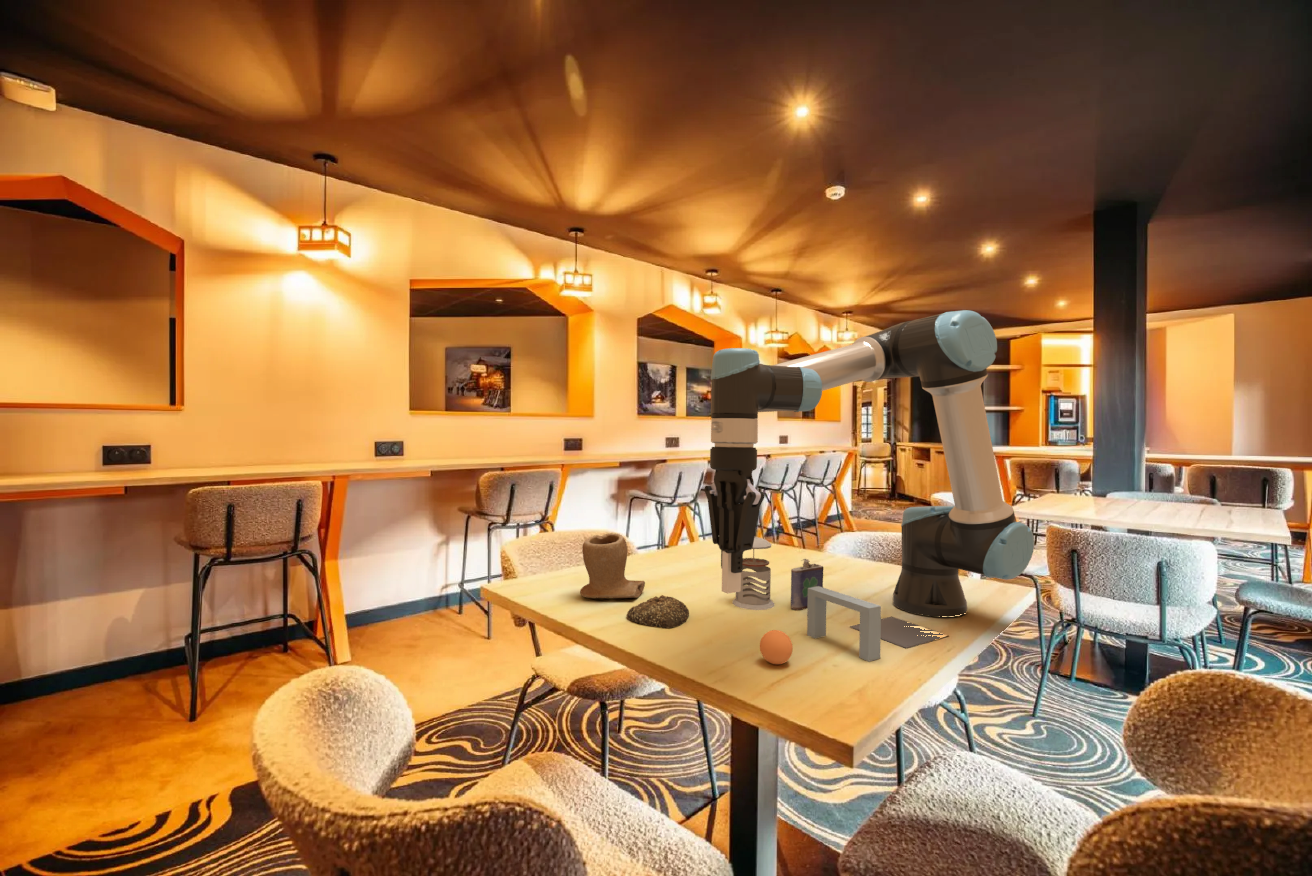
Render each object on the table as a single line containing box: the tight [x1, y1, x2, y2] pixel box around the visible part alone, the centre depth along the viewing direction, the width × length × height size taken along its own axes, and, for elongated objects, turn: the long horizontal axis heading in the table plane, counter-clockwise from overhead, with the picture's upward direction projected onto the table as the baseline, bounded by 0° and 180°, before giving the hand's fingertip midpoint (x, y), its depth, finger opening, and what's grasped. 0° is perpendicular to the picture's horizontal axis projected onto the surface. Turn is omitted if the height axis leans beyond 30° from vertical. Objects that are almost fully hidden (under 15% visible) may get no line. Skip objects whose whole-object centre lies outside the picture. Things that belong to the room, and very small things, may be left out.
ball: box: [759, 629, 794, 665], centre depth 97 cm, size 6×6×6 cm
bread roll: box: [626, 594, 690, 629], centre depth 120 cm, size 13×12×5 cm
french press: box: [731, 536, 776, 611], centre depth 131 cm, size 10×12×25 cm
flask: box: [790, 558, 824, 611], centre depth 129 cm, size 9×3×11 cm, turn 121°
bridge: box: [806, 586, 882, 662], centre depth 105 cm, size 3×14×9 cm, turn 30°
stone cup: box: [579, 532, 646, 599], centre depth 134 cm, size 15×12×15 cm
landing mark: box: [849, 616, 944, 649], centre depth 113 cm, size 13×13×1 cm
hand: (731, 591), depth 92 cm, fingers closed
